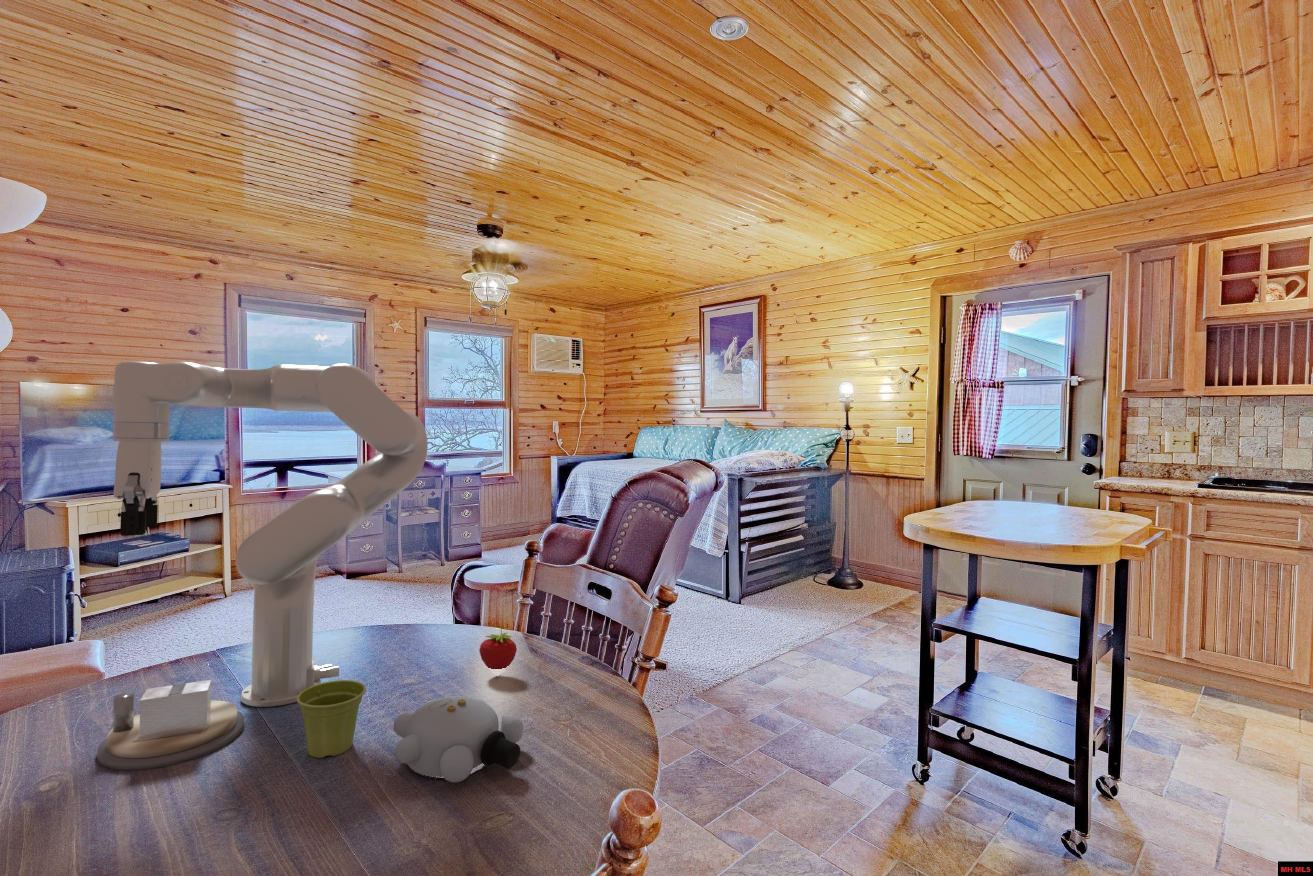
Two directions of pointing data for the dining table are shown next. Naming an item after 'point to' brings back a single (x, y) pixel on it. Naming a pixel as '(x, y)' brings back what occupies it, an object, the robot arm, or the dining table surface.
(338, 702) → the plant pot
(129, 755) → the turntable
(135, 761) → the turntable base
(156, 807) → the dining table surface
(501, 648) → the strawberry
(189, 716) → the link block
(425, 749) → the grey toy figure
